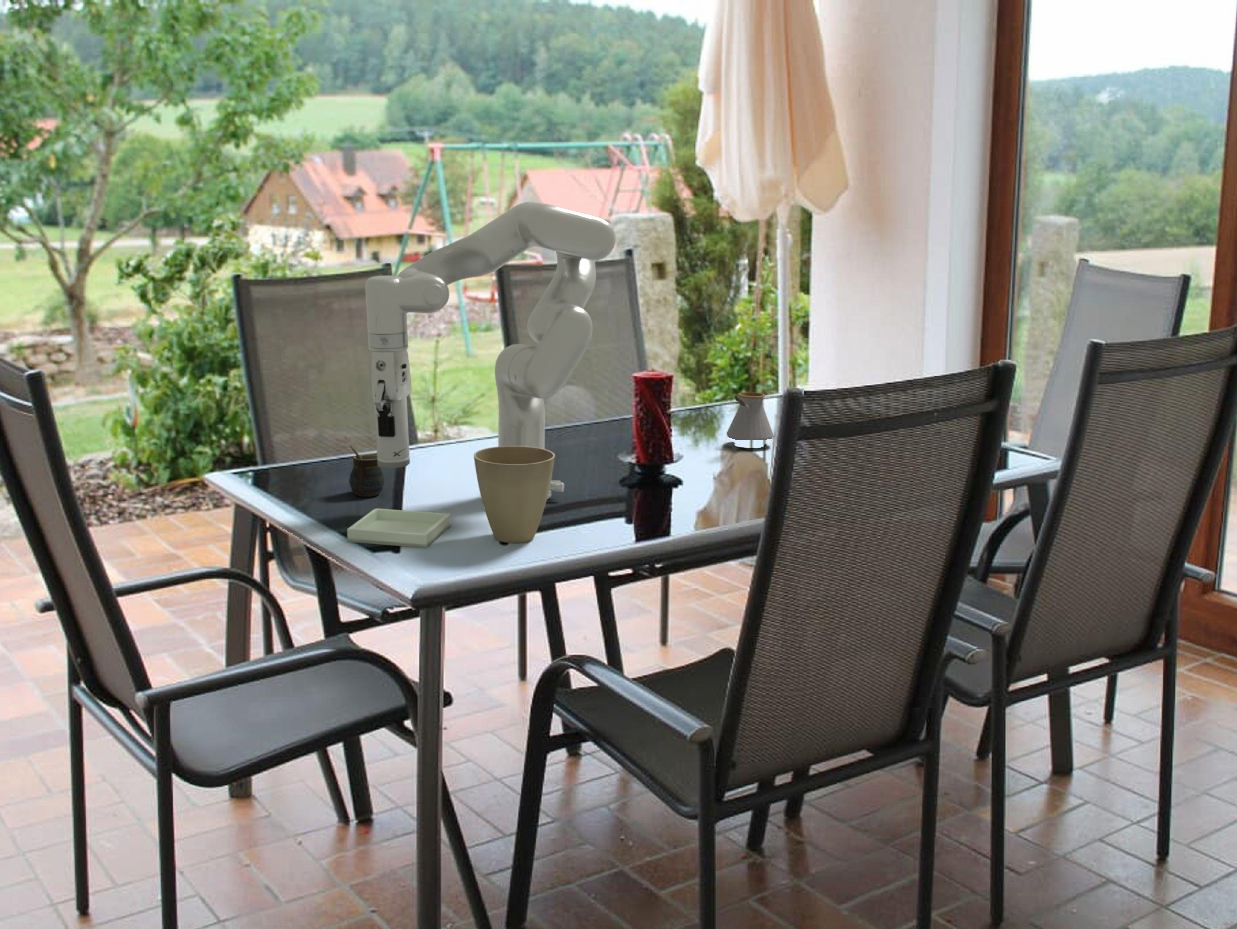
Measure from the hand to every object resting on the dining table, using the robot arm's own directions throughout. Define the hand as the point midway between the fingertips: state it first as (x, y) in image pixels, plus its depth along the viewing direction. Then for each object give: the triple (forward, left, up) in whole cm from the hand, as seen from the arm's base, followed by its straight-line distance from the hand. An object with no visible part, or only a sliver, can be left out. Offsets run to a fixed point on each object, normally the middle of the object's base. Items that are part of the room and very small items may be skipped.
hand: (392, 431), depth 272 cm
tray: (-6, +15, -16) cm, 23 cm away
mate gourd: (+10, -11, -16) cm, 22 cm away
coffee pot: (-63, -77, -16) cm, 101 cm away
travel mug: (0, 0, -7) cm, 7 cm away
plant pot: (-27, +12, -16) cm, 34 cm away
